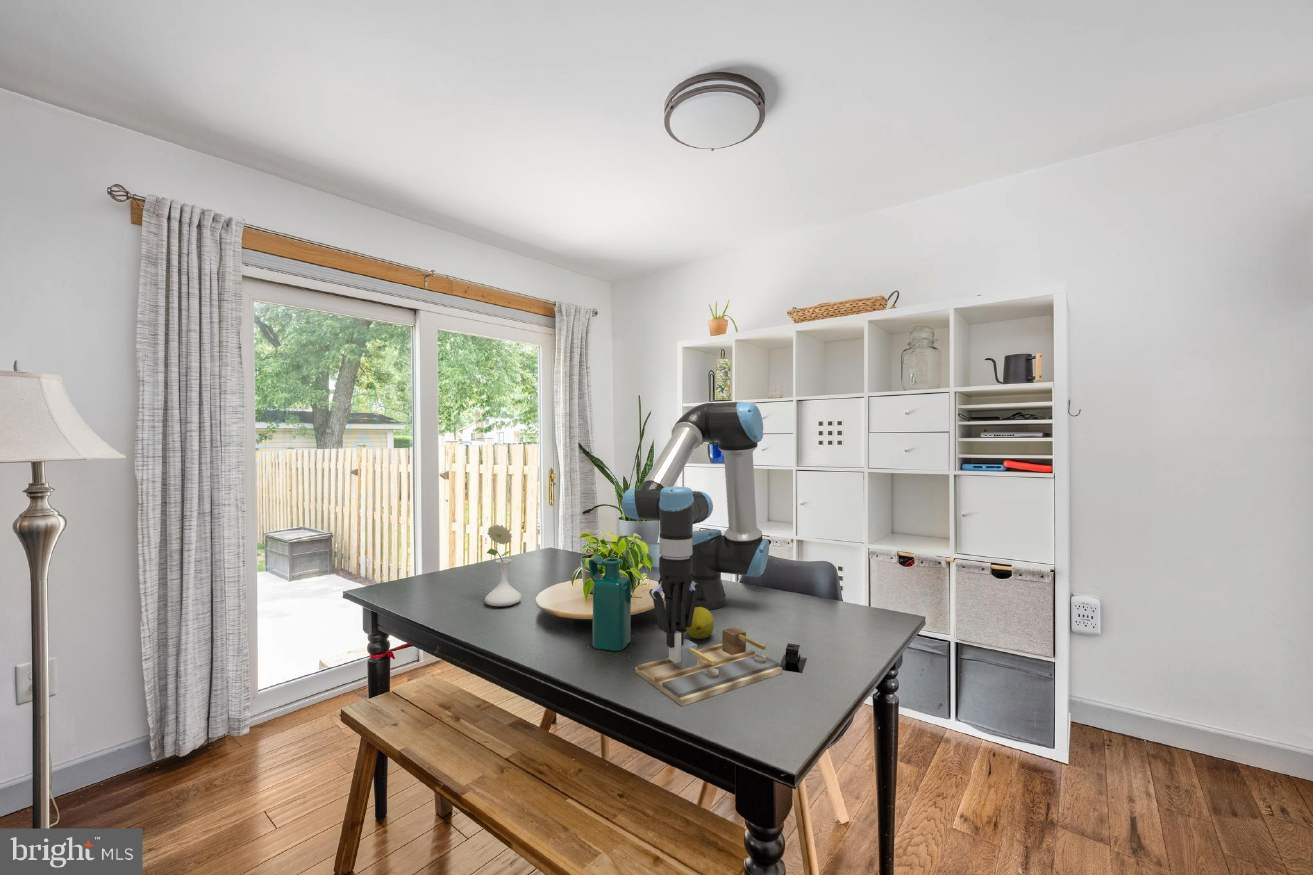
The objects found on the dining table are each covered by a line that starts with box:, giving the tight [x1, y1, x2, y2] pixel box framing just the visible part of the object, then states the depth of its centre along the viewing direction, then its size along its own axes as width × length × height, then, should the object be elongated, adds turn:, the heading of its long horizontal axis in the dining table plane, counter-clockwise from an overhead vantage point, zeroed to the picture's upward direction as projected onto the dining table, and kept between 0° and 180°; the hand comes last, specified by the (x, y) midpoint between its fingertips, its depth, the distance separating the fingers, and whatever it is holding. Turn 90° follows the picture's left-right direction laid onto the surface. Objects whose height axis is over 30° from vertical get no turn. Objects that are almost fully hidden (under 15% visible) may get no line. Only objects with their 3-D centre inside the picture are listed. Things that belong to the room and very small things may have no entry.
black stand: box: [779, 643, 808, 674], centre depth 128 cm, size 12×7×5 cm, turn 158°
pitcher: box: [588, 555, 632, 652], centre depth 139 cm, size 10×8×22 cm
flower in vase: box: [484, 524, 523, 607], centre depth 172 cm, size 13×11×25 cm
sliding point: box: [673, 639, 715, 669], centre depth 120 cm, size 4×12×5 cm, turn 33°
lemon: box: [686, 607, 715, 640], centre depth 144 cm, size 11×8×8 cm
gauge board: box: [634, 626, 783, 707], centre depth 122 cm, size 28×18×6 cm, turn 123°
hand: (674, 660), depth 122 cm, fingers closed
